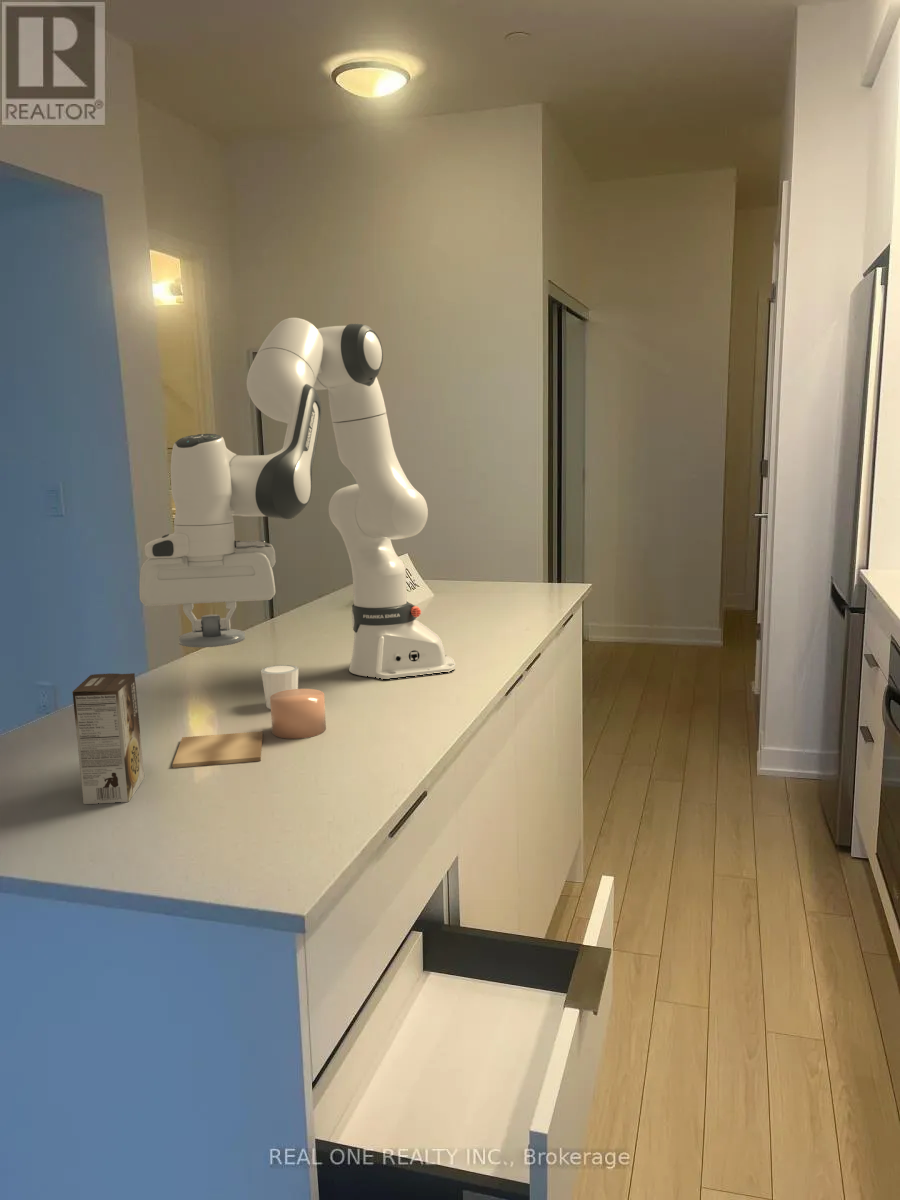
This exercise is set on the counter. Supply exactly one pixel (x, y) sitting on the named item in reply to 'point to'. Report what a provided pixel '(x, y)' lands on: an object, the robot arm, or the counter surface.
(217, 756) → the mat
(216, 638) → the lid
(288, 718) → the canister
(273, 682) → the white cup
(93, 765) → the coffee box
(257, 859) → the counter surface
